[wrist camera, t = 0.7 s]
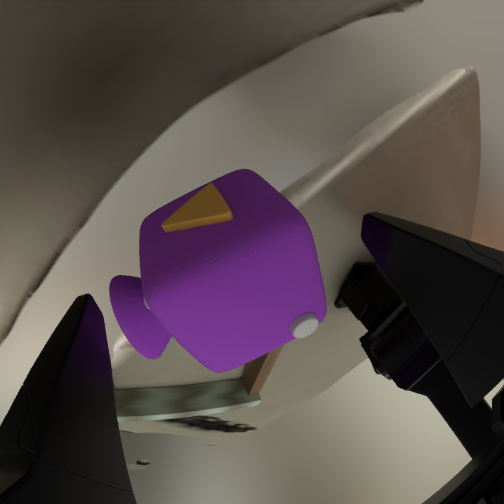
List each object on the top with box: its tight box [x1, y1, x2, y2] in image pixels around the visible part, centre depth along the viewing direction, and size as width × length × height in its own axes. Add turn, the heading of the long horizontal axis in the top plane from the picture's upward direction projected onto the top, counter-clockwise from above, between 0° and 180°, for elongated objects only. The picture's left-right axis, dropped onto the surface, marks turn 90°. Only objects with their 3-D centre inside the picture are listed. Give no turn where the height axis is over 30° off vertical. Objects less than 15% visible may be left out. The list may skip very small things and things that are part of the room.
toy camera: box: [109, 169, 327, 373], centre depth 19 cm, size 11×14×10 cm
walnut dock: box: [113, 345, 283, 422], centre depth 28 cm, size 20×16×4 cm
